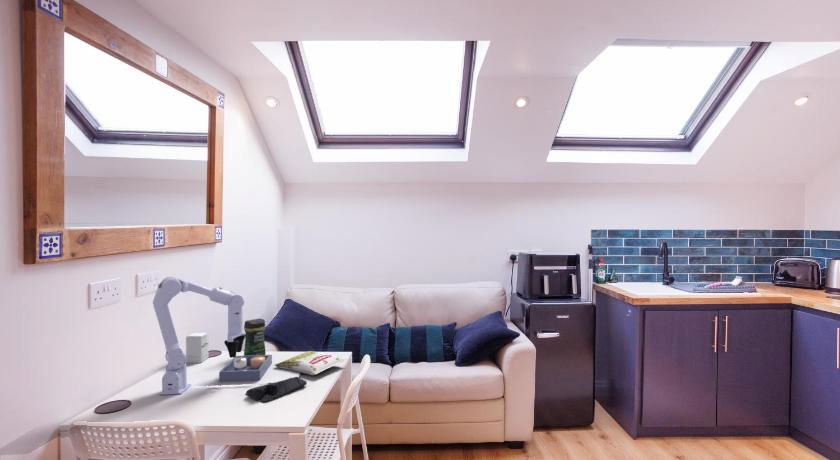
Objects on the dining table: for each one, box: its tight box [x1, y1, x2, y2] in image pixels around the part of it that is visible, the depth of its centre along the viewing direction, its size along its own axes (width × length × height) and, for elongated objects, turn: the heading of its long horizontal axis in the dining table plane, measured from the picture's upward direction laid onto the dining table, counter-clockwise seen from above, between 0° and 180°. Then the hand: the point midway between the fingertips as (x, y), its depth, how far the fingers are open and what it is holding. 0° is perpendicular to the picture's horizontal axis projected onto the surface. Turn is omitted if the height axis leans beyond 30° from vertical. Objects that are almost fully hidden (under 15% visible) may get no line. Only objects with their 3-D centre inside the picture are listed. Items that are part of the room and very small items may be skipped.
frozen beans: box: [274, 350, 346, 376], centre depth 204 cm, size 21×6×25 cm
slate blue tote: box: [218, 354, 273, 383], centre depth 197 cm, size 22×16×5 cm
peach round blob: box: [251, 356, 265, 370], centre depth 203 cm, size 6×6×4 cm
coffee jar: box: [243, 318, 267, 356], centre depth 221 cm, size 10×8×19 cm
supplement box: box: [185, 332, 209, 364], centre depth 217 cm, size 7×7×13 cm
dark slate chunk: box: [244, 376, 308, 403], centre depth 178 cm, size 15×22×5 cm
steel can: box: [234, 357, 247, 371], centre depth 193 cm, size 5×5×7 cm
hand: (235, 354), depth 193 cm, fingers open, 7 cm apart
